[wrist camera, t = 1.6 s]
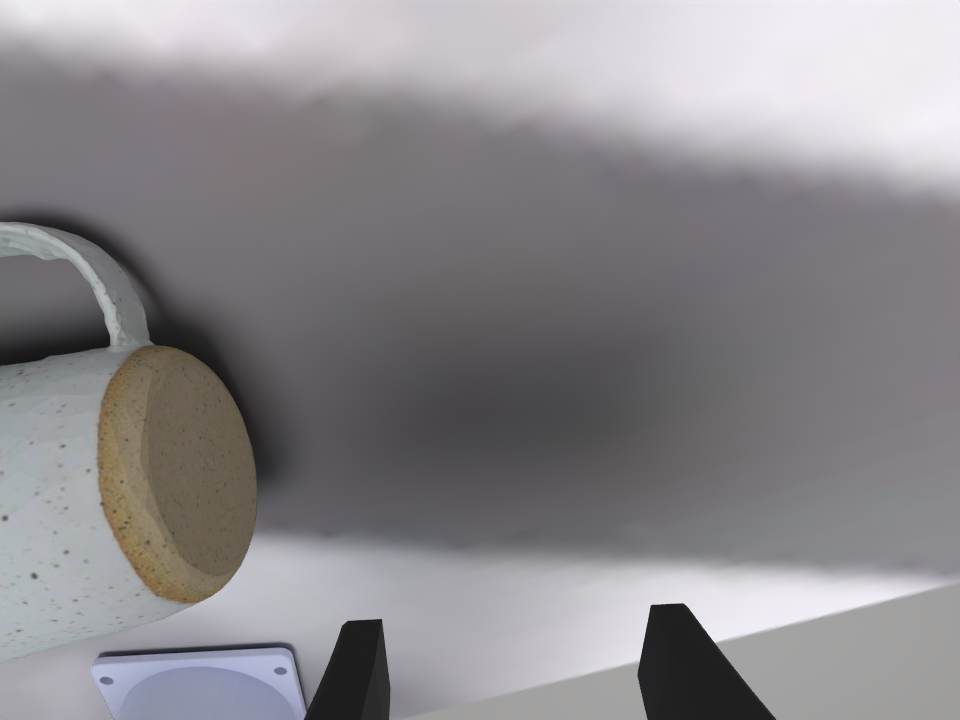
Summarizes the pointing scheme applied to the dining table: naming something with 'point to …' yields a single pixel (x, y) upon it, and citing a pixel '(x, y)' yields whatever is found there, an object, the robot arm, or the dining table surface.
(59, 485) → the ceramic mug
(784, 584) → the dining table surface
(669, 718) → the robot arm
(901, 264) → the dining table surface
